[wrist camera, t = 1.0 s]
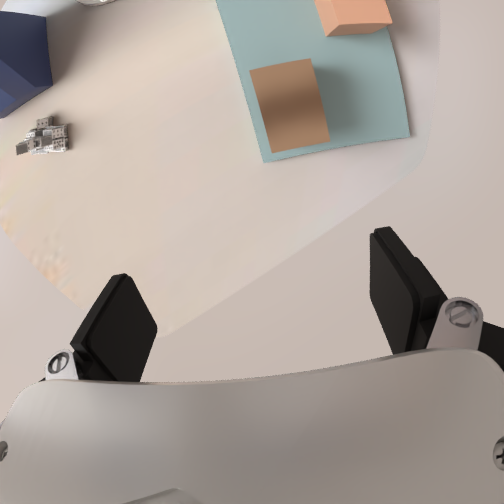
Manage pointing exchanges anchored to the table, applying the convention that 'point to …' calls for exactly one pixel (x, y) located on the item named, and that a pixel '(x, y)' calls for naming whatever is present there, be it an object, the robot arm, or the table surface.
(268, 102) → the walnut brick
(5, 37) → the blue angular block
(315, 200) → the table surface
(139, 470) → the robot arm
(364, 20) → the terracotta brick
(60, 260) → the table surface
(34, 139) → the miniature building cluster
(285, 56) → the board
